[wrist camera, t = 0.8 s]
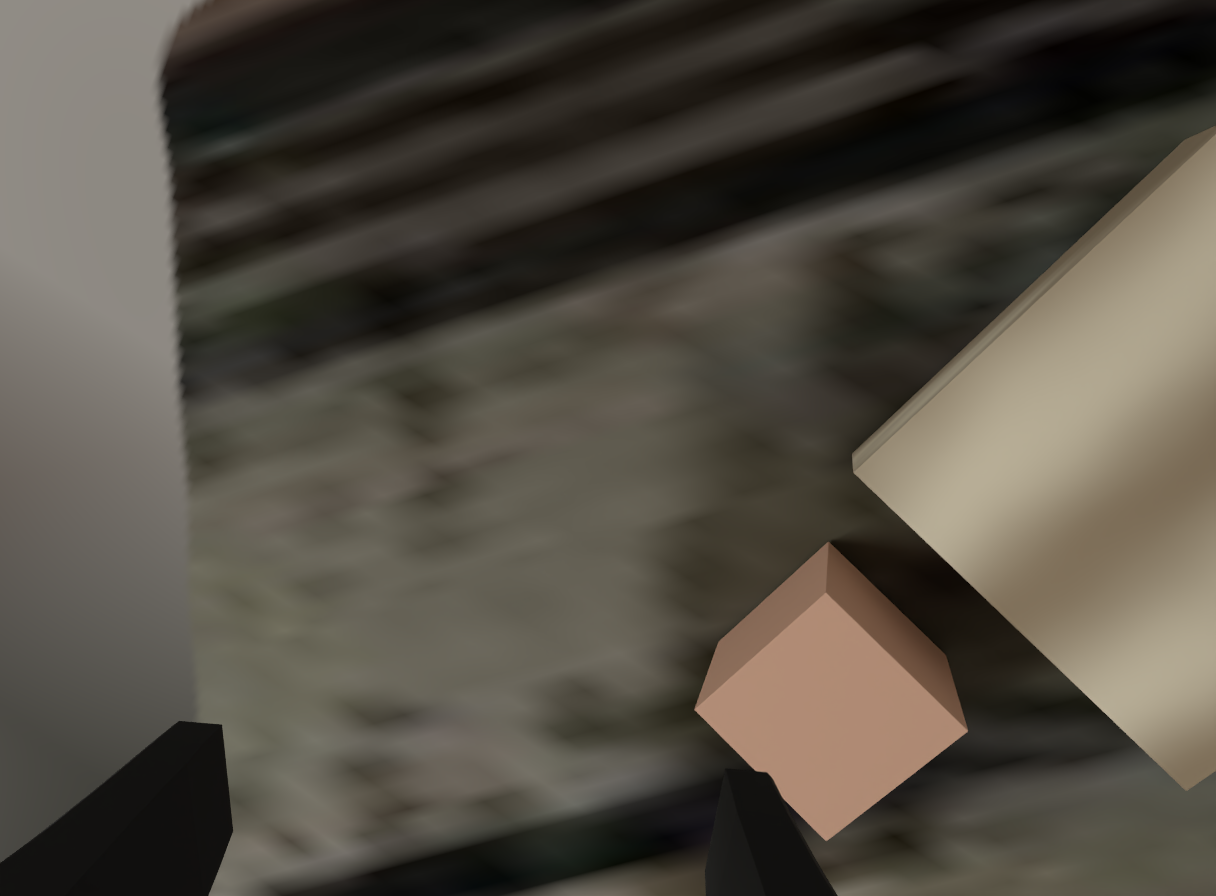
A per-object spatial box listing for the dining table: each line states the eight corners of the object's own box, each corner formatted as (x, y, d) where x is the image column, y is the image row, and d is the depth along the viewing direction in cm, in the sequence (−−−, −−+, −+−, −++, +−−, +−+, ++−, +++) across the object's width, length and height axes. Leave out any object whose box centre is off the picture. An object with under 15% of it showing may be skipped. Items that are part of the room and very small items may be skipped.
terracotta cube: (945, 654, 27) (968, 731, 22) (828, 750, 29) (826, 841, 24) (828, 541, 28) (825, 592, 23) (718, 641, 29) (694, 709, 24)
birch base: (1540, 455, 22) (1641, 478, 20) (1148, 736, 26) (1186, 790, 23) (1184, 139, 23) (1232, 117, 20) (852, 453, 27) (853, 472, 24)
